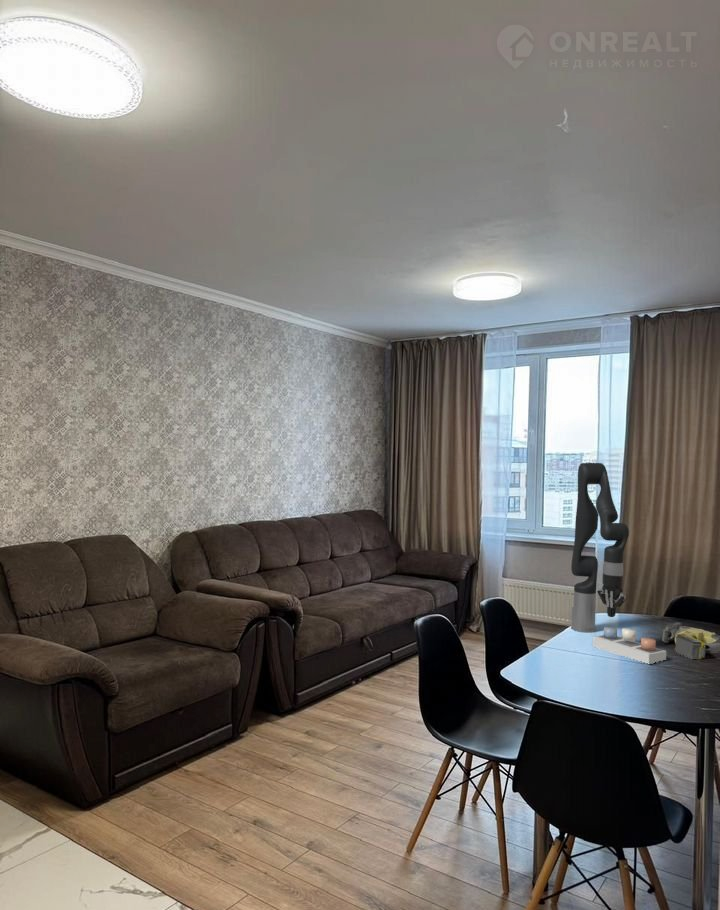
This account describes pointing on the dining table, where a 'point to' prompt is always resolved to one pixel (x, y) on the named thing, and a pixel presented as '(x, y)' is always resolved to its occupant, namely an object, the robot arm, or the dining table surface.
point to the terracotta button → (648, 644)
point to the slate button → (610, 632)
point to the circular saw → (691, 640)
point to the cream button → (628, 634)
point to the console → (628, 649)
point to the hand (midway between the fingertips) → (611, 616)
